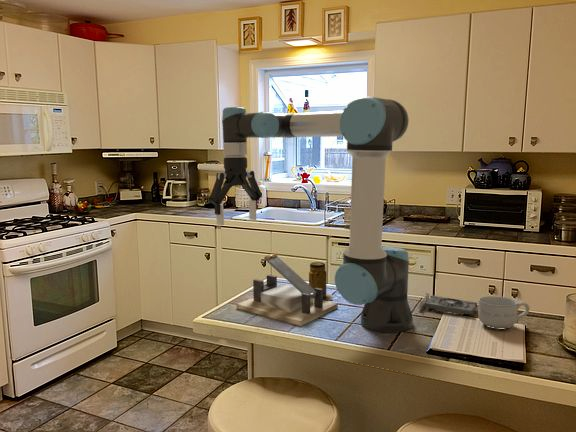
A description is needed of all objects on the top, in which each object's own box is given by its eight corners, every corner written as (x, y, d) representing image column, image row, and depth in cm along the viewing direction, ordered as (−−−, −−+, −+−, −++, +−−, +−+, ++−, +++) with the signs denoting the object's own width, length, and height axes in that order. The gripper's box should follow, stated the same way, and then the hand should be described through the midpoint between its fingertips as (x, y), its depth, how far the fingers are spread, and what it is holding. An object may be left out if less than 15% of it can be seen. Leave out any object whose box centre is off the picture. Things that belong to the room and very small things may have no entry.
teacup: (476, 330, 146) (478, 303, 145) (476, 317, 156) (478, 292, 155) (530, 336, 141) (532, 308, 140) (526, 323, 151) (528, 297, 150)
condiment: (307, 294, 180) (307, 261, 179) (331, 294, 180) (332, 261, 178) (307, 300, 173) (307, 266, 171) (332, 300, 173) (333, 266, 171)
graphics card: (415, 302, 161) (426, 291, 171) (415, 313, 162) (425, 302, 172) (471, 311, 153) (478, 299, 163) (470, 323, 153) (478, 311, 164)
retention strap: (317, 296, 160) (320, 292, 160) (308, 300, 156) (310, 296, 156) (273, 256, 170) (275, 252, 169) (263, 259, 166) (265, 255, 165)
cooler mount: (337, 307, 165) (337, 282, 164) (301, 326, 150) (300, 298, 148) (275, 293, 181) (275, 270, 180) (236, 308, 166) (236, 283, 164)
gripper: (256, 155, 174) (258, 216, 178) (196, 157, 157) (198, 225, 160) (271, 155, 169) (272, 218, 172) (210, 158, 152) (212, 228, 155)
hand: (237, 222), depth 166 cm, fingers open, 13 cm apart
